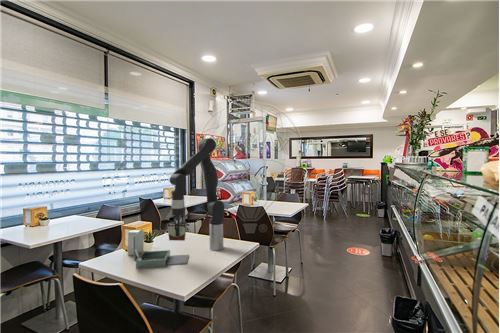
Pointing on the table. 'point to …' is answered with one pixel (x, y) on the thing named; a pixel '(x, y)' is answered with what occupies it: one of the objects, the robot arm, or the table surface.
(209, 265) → the table surface
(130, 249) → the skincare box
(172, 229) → the food container
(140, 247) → the case
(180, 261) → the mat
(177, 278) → the table surface
